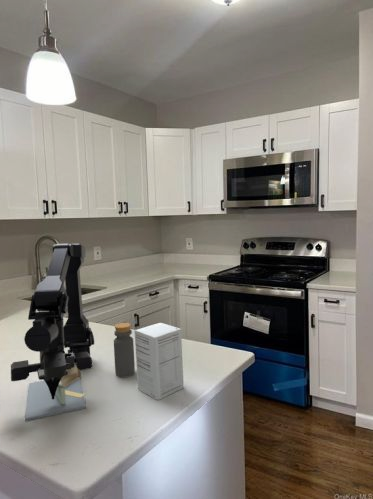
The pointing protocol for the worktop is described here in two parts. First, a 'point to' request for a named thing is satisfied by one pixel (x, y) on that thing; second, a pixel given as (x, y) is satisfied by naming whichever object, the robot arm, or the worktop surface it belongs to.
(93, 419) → the worktop surface
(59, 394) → the fence panel
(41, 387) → the board
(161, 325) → the supplement box
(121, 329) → the bottle
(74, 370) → the wooden wall with posts
